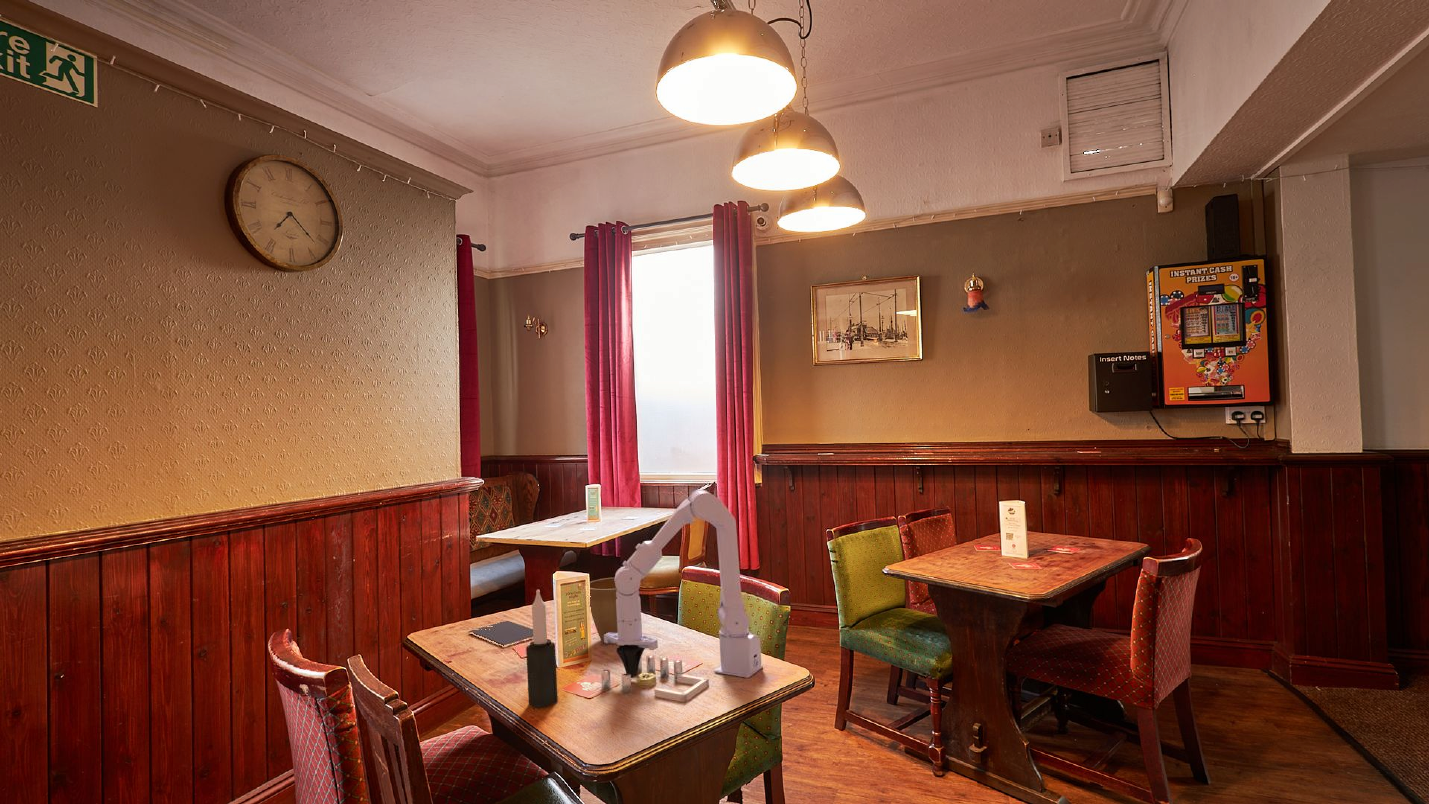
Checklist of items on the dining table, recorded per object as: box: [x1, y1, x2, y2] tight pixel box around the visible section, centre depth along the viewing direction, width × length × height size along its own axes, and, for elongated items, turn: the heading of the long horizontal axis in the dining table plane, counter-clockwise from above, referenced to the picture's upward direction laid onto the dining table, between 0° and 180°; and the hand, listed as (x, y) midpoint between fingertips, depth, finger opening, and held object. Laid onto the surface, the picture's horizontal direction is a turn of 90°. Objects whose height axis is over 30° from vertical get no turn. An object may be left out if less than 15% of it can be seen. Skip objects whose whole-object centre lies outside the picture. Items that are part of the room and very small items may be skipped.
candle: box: [525, 589, 559, 710], centre depth 154 cm, size 5×5×25 cm
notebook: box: [468, 620, 533, 646], centre depth 205 cm, size 13×2×21 cm
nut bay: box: [654, 674, 710, 703], centre depth 156 cm, size 8×10×2 cm
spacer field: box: [600, 654, 684, 696], centre depth 162 cm, size 14×14×4 cm
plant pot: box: [589, 577, 618, 645], centre depth 196 cm, size 15×15×16 cm
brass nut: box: [635, 672, 657, 689], centre depth 161 cm, size 4×5×2 cm
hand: (632, 676), depth 164 cm, fingers closed
